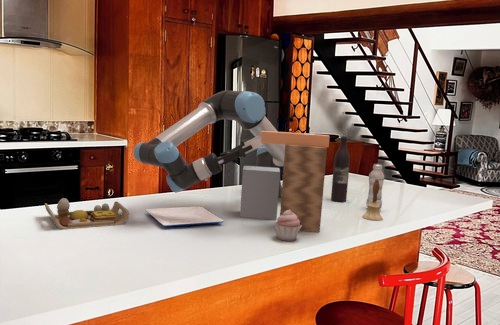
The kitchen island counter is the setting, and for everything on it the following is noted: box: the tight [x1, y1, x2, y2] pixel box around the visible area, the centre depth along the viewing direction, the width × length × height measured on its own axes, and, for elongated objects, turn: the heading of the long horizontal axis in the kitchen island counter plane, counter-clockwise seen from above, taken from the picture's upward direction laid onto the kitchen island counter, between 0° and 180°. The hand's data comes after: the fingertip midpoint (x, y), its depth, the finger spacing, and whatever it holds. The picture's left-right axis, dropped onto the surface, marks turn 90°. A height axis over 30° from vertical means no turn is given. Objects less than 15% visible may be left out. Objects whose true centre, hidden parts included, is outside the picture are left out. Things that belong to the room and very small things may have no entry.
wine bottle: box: [330, 135, 351, 203], centre depth 234 cm, size 7×7×30 cm
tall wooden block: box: [279, 144, 328, 233], centre depth 183 cm, size 14×10×30 cm
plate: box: [145, 205, 225, 227], centre depth 185 cm, size 22×22×2 cm
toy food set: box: [44, 197, 131, 231], centre depth 175 cm, size 25×18×8 cm
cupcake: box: [273, 210, 302, 242], centre depth 169 cm, size 9×9×10 cm
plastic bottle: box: [365, 163, 385, 210], centre depth 221 cm, size 6×7×20 cm
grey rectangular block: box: [239, 165, 281, 221], centre depth 197 cm, size 14×10×18 cm
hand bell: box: [362, 179, 384, 222], centre depth 205 cm, size 8×8×16 cm
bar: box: [261, 131, 331, 148], centre depth 181 cm, size 24×4×4 cm, turn 88°
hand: (261, 139), depth 180 cm, fingers open, 13 cm apart
